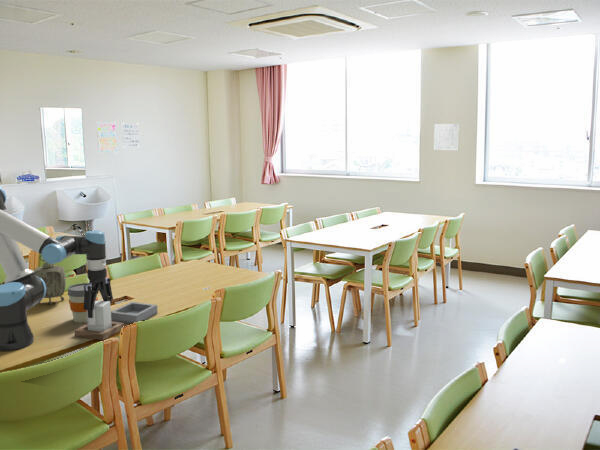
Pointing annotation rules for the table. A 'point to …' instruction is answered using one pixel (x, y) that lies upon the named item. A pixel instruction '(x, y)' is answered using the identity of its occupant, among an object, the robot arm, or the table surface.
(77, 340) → the table surface
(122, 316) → the grey tray
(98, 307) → the supplement box
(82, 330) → the walnut collar
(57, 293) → the tabletop clock
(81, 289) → the reusable coffee cup
